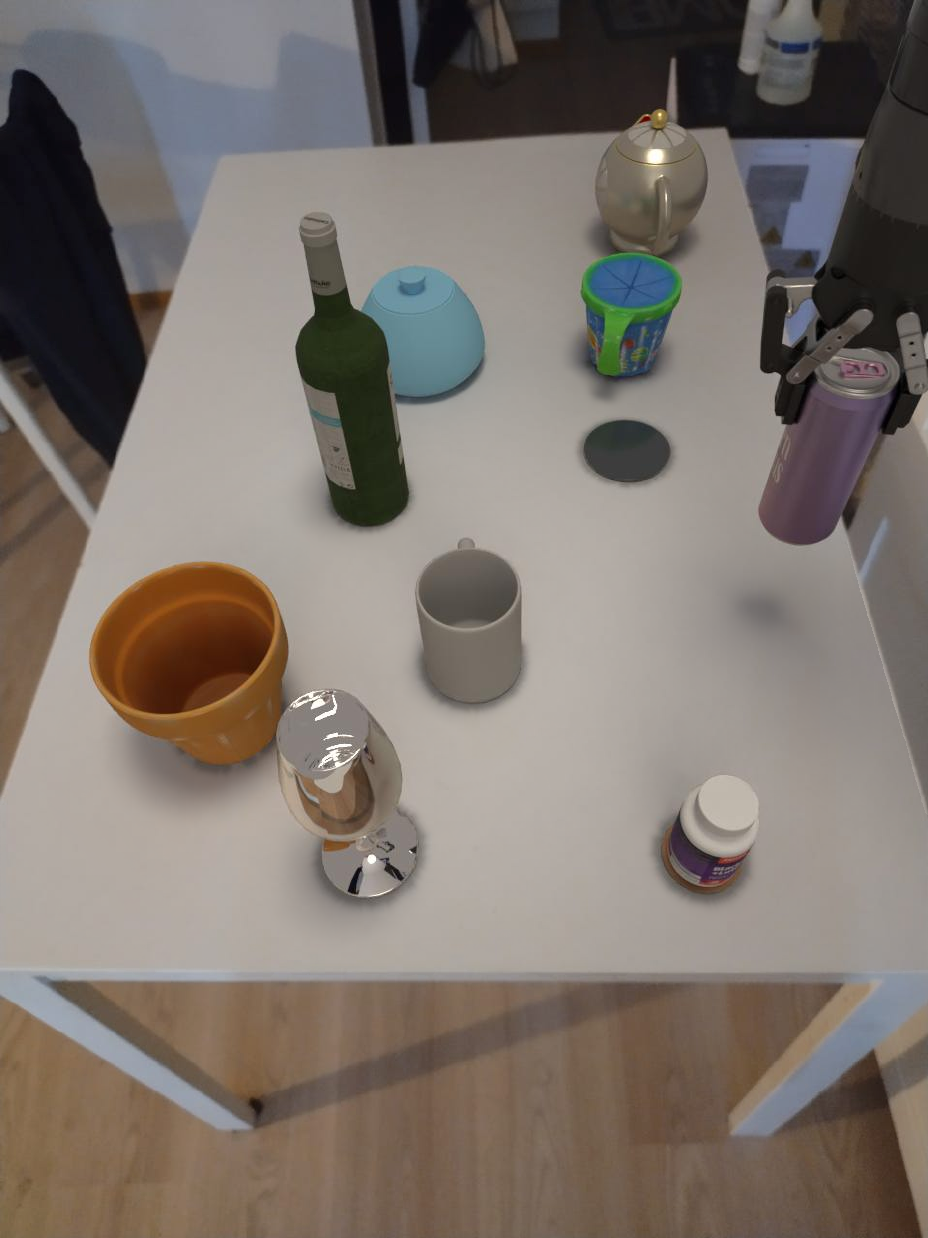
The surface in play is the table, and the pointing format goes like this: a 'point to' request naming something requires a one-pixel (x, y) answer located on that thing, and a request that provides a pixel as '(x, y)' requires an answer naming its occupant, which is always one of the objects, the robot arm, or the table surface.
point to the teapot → (650, 185)
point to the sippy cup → (628, 310)
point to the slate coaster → (626, 451)
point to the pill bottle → (714, 831)
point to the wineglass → (346, 791)
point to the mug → (470, 622)
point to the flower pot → (195, 660)
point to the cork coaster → (684, 882)
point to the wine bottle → (349, 389)
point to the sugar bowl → (426, 330)
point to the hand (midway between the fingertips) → (836, 421)
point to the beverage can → (827, 444)
